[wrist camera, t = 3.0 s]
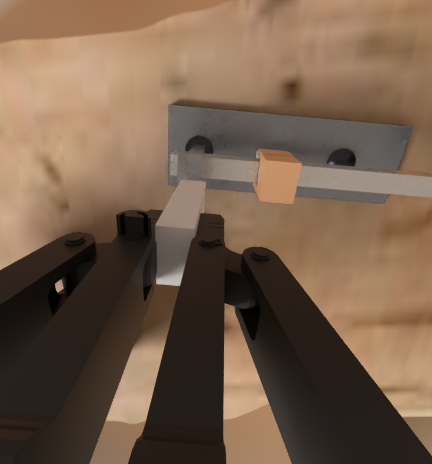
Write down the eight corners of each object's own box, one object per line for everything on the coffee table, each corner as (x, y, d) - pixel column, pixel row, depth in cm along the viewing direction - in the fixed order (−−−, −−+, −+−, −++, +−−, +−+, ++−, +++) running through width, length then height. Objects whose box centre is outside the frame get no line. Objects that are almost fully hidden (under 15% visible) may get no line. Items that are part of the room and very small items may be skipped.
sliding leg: (247, 170, 35) (259, 202, 24) (251, 139, 33) (266, 159, 22) (270, 172, 35) (292, 205, 24) (275, 141, 33) (302, 162, 22)
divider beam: (183, 159, 35) (168, 181, 26) (184, 137, 34) (168, 151, 25) (379, 176, 36) (436, 204, 26) (386, 155, 34) (449, 175, 25)
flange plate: (169, 182, 38) (168, 185, 37) (170, 104, 34) (168, 104, 32) (379, 200, 38) (385, 204, 37) (407, 125, 34) (414, 126, 33)
